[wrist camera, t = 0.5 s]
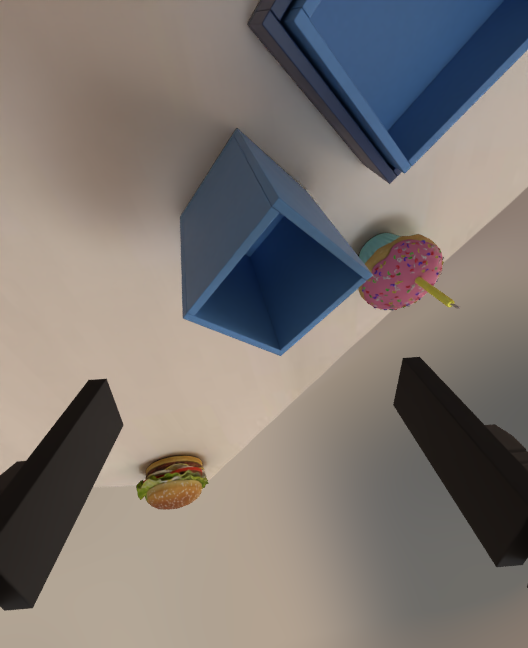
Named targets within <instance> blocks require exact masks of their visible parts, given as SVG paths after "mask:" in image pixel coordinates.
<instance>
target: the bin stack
mask: <svg viewBox="0 0 528 648" xmlns="http://www.w3.org/2000/svg"><path fill="white" fill-rule="evenodd" d="M247 25H248V26H249V27H250V29H251V30H252V31H253V32H254V33H255V35H256V36H257V37H258V38H259V39H260V41H261V42H262V43H263V44H264V45H265V47H266V48H267V49H268V50H269V51H270V53H271V54H272V55H273V56H274V57H275V59H276V60H277V61H278V62H279V63H280V65H281V66H282V67H283V68H284V69H285V71H286V72H287V73H288V74H289V75H290V77H291V78H292V79H293V80H294V81H295V83H296V84H297V85H298V86H299V87H300V89H301V90H302V91H303V92H304V93H305V95H306V96H307V97H308V98H309V99H310V101H311V102H312V103H313V104H314V105H315V107H316V108H317V109H318V110H319V111H320V113H321V114H322V115H323V116H324V117H325V119H326V120H327V121H328V122H329V123H330V125H331V126H332V127H333V128H334V129H335V131H336V132H337V133H338V134H339V135H340V137H341V138H342V139H343V140H344V141H345V143H346V144H347V145H348V146H349V147H350V149H351V150H352V151H353V152H354V153H355V155H356V156H357V157H358V158H359V159H360V161H361V162H362V163H363V164H364V165H365V166H366V167H367V168H369V169H370V170H372V171H373V172H374V173H376V174H377V175H378V176H380V177H381V178H382V179H384V180H385V181H386V182H388V183H389V184H390V183H391V182H392V181H393V180H394V179H395V178H396V177H397V176H398V175H399V174H400V173H401V172H403V173H406V172H407V171H408V170H409V169H410V168H411V166H413V165H414V164H415V163H416V162H417V161H418V160H419V159H420V158H421V157H422V156H423V155H424V154H425V153H426V152H427V151H428V150H429V149H430V148H431V147H432V146H433V145H434V144H435V143H436V142H437V141H438V140H439V139H440V138H441V137H442V136H443V135H444V134H445V133H446V132H447V131H448V130H449V129H450V127H451V126H452V125H453V124H454V123H455V122H456V121H457V120H458V119H459V118H460V117H461V116H462V115H463V114H464V113H465V112H466V111H467V110H468V109H469V108H470V107H471V106H472V105H473V104H474V103H475V102H476V101H477V100H478V99H479V98H480V97H481V96H482V95H483V94H484V93H485V92H486V91H487V90H488V89H489V88H490V87H491V86H492V85H493V84H494V83H495V82H496V81H497V80H498V79H499V78H500V77H501V76H502V75H503V74H504V73H505V72H506V71H507V70H508V69H509V68H510V67H511V66H512V65H513V64H514V63H515V62H516V61H517V60H518V59H519V58H520V57H521V56H522V55H523V54H524V53H525V52H526V51H527V50H528V0H260V1H259V3H258V5H257V7H256V9H255V10H254V12H253V14H252V16H251V18H250V19H249V21H248V23H247Z"/></svg>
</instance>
